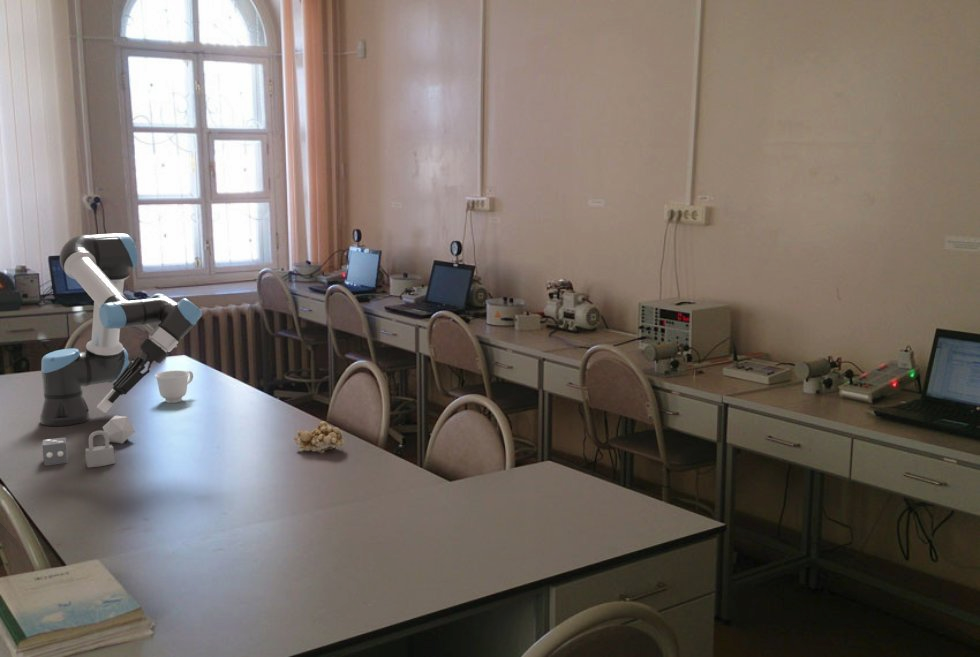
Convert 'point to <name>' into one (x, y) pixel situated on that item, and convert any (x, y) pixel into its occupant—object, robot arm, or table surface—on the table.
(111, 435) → the die
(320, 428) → the mineral formation
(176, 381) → the teacup
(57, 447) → the dotted block
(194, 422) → the table surface
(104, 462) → the padlock
